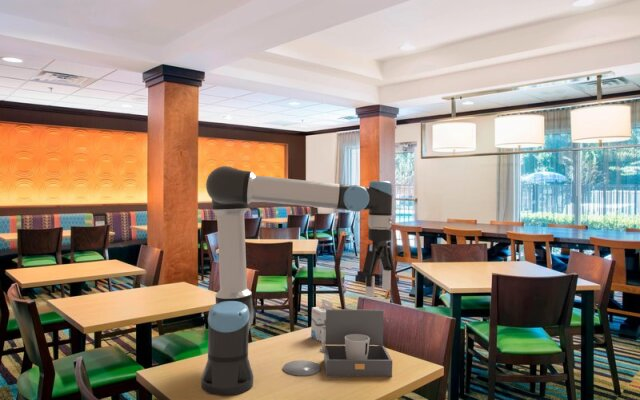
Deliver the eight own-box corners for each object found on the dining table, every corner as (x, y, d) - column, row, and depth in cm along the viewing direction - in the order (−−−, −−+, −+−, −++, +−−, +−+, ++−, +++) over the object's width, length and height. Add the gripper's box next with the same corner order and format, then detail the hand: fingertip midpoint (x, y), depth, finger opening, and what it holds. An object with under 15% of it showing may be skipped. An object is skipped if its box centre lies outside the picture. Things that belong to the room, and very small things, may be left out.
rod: (319, 351, 169) (319, 349, 169) (319, 351, 170) (319, 348, 170) (343, 351, 170) (343, 349, 170) (343, 351, 171) (343, 348, 171)
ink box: (310, 336, 187) (311, 299, 187) (321, 335, 190) (322, 298, 190) (321, 342, 180) (322, 304, 180) (332, 340, 182) (333, 303, 182)
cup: (367, 373, 150) (368, 342, 149) (342, 371, 151) (343, 340, 151) (370, 364, 157) (370, 335, 157) (346, 362, 159) (346, 333, 159)
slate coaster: (282, 375, 146) (282, 373, 146) (283, 362, 158) (283, 360, 158) (321, 375, 147) (321, 374, 147) (319, 362, 159) (319, 360, 159)
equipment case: (323, 376, 146) (324, 321, 146) (320, 358, 162) (322, 309, 162) (392, 377, 147) (393, 322, 147) (383, 359, 163) (384, 309, 163)
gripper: (375, 231, 141) (373, 301, 141) (404, 227, 163) (402, 288, 163) (352, 229, 145) (351, 298, 145) (384, 225, 166) (382, 285, 167)
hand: (378, 293), depth 154 cm, fingers open, 13 cm apart
